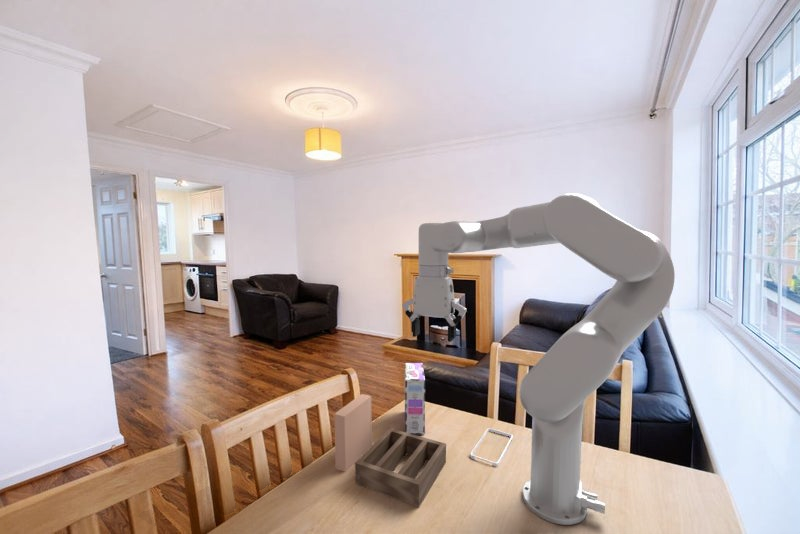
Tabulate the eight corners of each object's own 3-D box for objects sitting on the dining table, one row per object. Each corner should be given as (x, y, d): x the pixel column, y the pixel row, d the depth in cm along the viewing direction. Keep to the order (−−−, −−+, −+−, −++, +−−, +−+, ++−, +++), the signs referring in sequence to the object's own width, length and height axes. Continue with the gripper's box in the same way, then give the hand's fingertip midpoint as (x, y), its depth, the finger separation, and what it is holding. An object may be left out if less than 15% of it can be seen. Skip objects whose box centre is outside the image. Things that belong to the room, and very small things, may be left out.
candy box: (425, 435, 101) (425, 379, 100) (404, 435, 102) (404, 379, 100) (423, 411, 115) (423, 361, 114) (405, 411, 115) (404, 361, 114)
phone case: (487, 431, 104) (469, 459, 91) (488, 427, 104) (469, 454, 91) (513, 439, 100) (497, 469, 88) (513, 434, 100) (497, 463, 87)
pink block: (371, 445, 97) (371, 396, 95) (345, 472, 86) (344, 416, 85) (362, 442, 98) (361, 393, 97) (335, 468, 87) (334, 413, 86)
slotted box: (445, 462, 89) (446, 443, 89) (419, 507, 75) (419, 484, 74) (389, 445, 97) (389, 428, 96) (355, 483, 82) (355, 462, 82)
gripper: (470, 272, 90) (470, 338, 92) (409, 269, 98) (409, 330, 99) (461, 275, 83) (461, 346, 85) (396, 271, 91) (396, 337, 93)
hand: (433, 337), depth 92 cm, fingers open, 9 cm apart
